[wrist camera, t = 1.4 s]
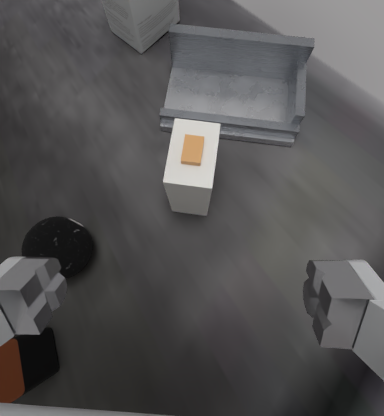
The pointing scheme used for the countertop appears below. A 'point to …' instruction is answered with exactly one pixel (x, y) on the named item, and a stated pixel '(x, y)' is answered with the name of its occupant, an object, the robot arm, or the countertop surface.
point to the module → (191, 165)
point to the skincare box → (141, 20)
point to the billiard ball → (60, 243)
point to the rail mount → (238, 82)
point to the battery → (26, 364)
